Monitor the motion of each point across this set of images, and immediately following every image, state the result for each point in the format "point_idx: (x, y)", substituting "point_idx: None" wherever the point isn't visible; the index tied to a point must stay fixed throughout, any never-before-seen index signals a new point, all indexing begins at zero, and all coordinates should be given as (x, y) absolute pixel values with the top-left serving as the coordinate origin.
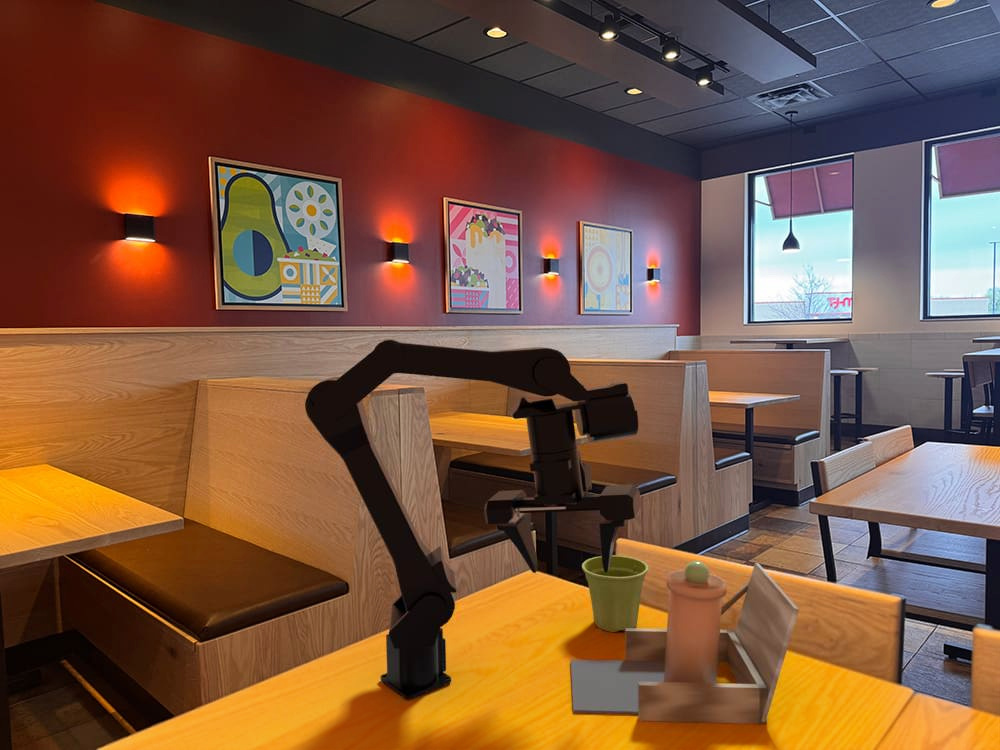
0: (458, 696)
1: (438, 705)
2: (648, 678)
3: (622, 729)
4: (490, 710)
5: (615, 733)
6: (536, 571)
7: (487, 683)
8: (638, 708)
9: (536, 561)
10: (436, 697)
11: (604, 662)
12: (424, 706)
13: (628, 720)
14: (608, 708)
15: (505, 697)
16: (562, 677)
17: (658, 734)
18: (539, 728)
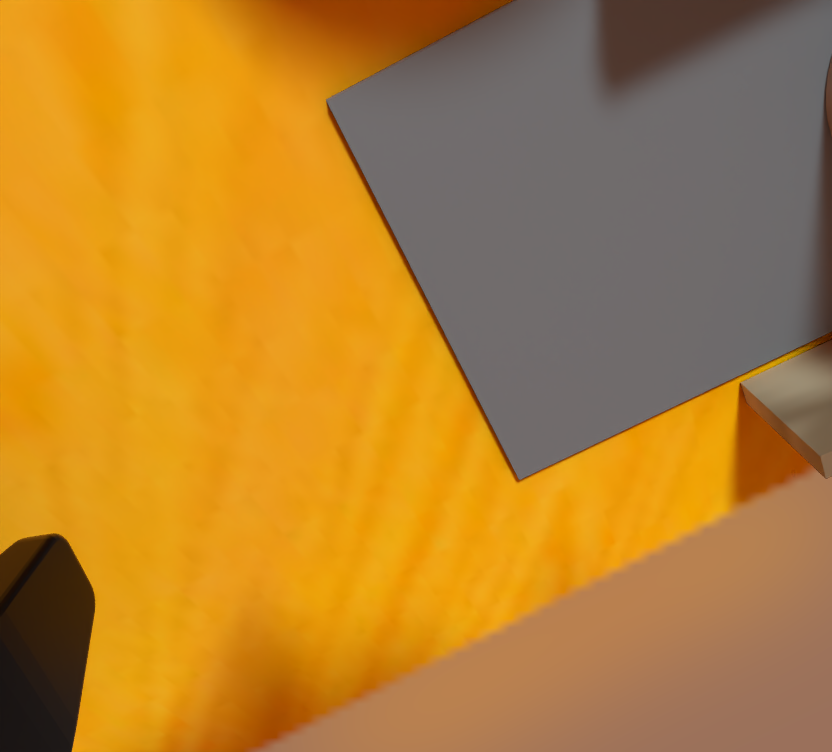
0: None
1: None
2: (753, 96)
3: (699, 471)
4: (242, 601)
5: (682, 499)
6: (82, 575)
7: (98, 474)
8: (761, 408)
9: (22, 624)
10: None
11: (507, 36)
12: None
13: (710, 417)
14: (635, 407)
15: (236, 516)
16: (362, 267)
17: None
18: (448, 594)
